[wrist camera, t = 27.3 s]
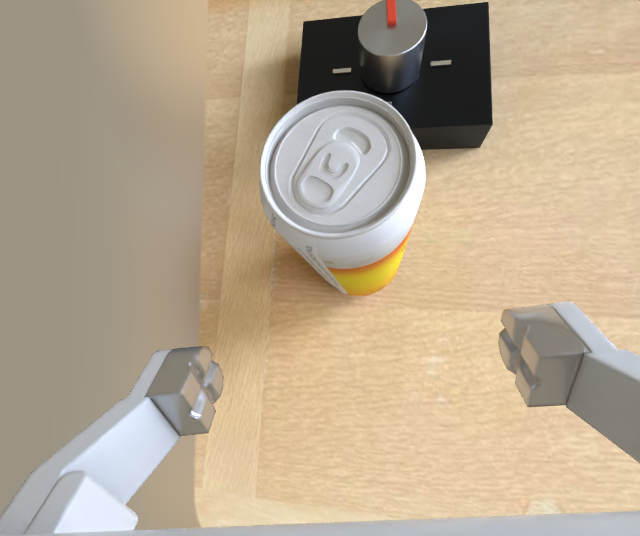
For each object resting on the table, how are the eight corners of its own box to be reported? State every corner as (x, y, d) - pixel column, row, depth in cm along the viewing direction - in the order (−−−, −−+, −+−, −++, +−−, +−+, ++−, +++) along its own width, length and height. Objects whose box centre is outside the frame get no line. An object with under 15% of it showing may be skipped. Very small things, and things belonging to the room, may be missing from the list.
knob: (422, 90, 24) (430, 46, 20) (361, 97, 25) (358, 56, 21) (418, 38, 25) (425, -13, 21) (359, 47, 25) (356, -1, 22)
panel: (302, 153, 28) (293, 132, 25) (310, 51, 30) (303, 19, 27) (479, 147, 26) (493, 122, 22) (476, 36, 27) (489, -1, 24)
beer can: (415, 246, 25) (468, 127, 10) (370, 313, 25) (359, 287, 10) (348, 206, 26) (314, 53, 12) (305, 268, 26) (214, 190, 12)
